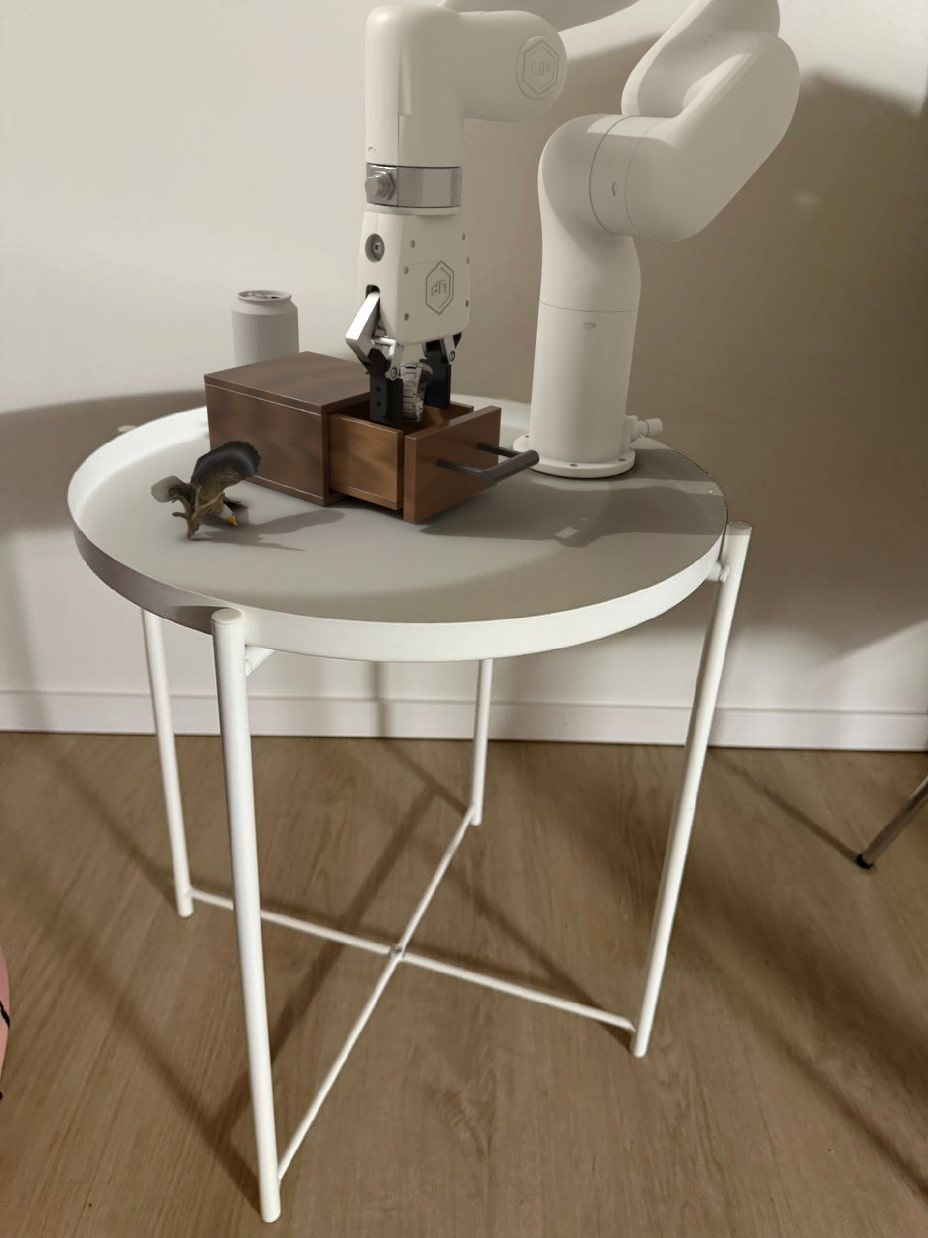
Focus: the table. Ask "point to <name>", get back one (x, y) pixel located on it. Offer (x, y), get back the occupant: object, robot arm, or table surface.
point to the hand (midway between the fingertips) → (410, 412)
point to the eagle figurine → (209, 483)
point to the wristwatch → (413, 389)
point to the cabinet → (285, 417)
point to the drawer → (420, 457)
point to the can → (264, 326)
